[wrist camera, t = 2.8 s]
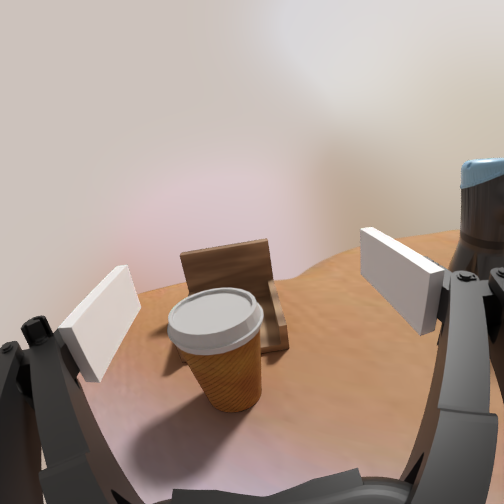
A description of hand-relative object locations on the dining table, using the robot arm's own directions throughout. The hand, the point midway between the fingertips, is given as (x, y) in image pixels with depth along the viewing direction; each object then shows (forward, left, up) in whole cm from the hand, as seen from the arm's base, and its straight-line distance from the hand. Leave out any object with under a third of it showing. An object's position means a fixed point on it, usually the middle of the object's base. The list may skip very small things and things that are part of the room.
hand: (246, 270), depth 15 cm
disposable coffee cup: (-7, -8, -19) cm, 22 cm away
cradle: (-20, -14, -19) cm, 31 cm away
